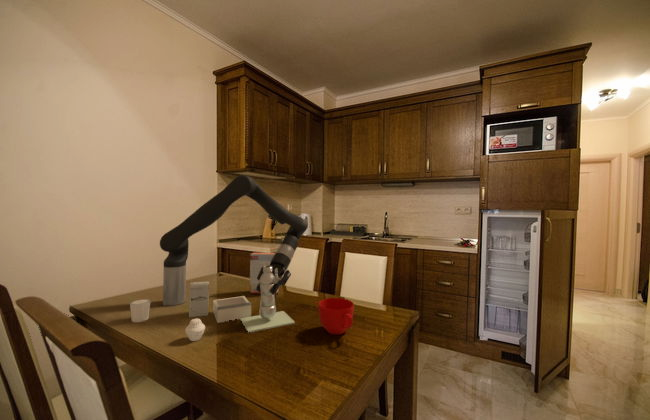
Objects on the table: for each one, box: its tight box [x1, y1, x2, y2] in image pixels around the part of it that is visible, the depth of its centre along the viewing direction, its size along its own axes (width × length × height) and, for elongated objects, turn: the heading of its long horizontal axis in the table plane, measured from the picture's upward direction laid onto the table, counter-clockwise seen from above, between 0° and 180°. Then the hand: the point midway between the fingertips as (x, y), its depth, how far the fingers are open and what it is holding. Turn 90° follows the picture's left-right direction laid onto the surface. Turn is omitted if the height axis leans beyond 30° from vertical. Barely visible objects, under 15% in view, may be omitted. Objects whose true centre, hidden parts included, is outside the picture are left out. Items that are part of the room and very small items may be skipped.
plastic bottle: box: [258, 266, 277, 318], centre depth 109 cm, size 6×7×20 cm
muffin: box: [184, 317, 206, 342], centre depth 94 cm, size 6×6×7 cm
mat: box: [239, 310, 296, 334], centre depth 109 cm, size 18×13×1 cm
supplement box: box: [188, 281, 210, 319], centre depth 117 cm, size 7×7×13 cm
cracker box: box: [249, 252, 279, 295], centre depth 147 cm, size 14×6×21 cm, turn 84°
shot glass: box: [129, 298, 151, 323], centre depth 110 cm, size 7×7×7 cm
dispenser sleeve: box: [212, 295, 252, 324], centre depth 116 cm, size 13×13×6 cm
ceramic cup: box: [318, 297, 355, 335], centre depth 100 cm, size 13×17×10 cm
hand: (265, 292), depth 108 cm, fingers closed on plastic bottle, 6 cm apart
